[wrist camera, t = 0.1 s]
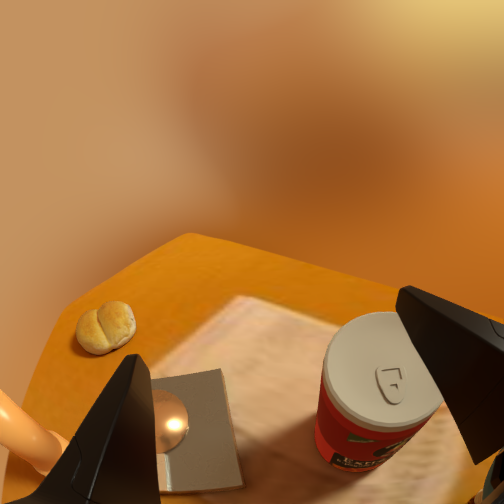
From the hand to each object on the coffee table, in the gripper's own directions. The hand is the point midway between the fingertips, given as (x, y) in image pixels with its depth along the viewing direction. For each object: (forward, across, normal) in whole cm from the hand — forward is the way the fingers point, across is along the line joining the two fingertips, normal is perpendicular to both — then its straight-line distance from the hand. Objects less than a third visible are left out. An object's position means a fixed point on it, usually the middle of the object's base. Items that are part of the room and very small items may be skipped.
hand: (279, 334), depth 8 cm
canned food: (+1, -6, +17) cm, 18 cm away
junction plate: (+5, +10, +17) cm, 20 cm away
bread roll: (+21, +19, +17) cm, 33 cm away
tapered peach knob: (+1, +21, +17) cm, 27 cm away
